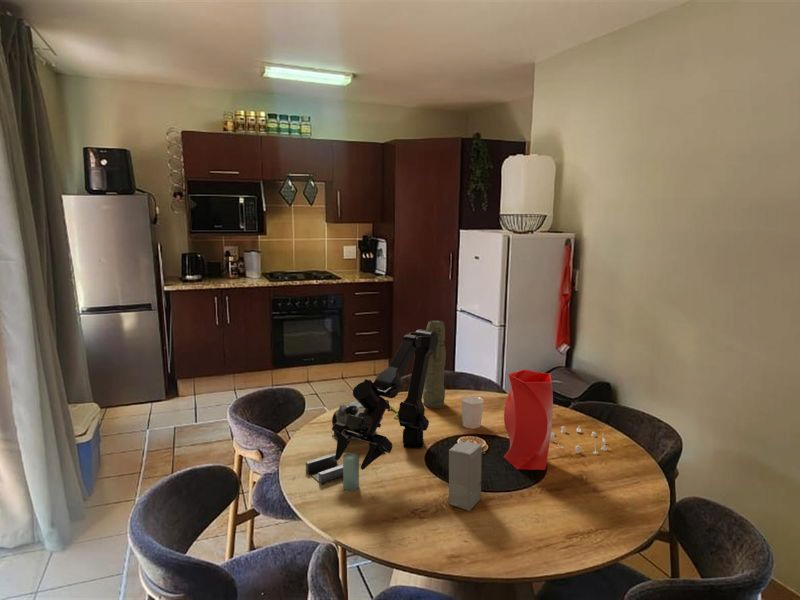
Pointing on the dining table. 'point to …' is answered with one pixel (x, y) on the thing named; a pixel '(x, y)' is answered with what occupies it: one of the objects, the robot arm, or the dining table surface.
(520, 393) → the vase
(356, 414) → the lucky cat figurine
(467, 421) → the white cup
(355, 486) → the teal peg
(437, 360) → the grey green tall pillar
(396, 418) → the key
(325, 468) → the rail dock
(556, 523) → the dining table surface
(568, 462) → the dining table surface
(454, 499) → the skincare box
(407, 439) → the robot arm
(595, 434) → the game piece set
